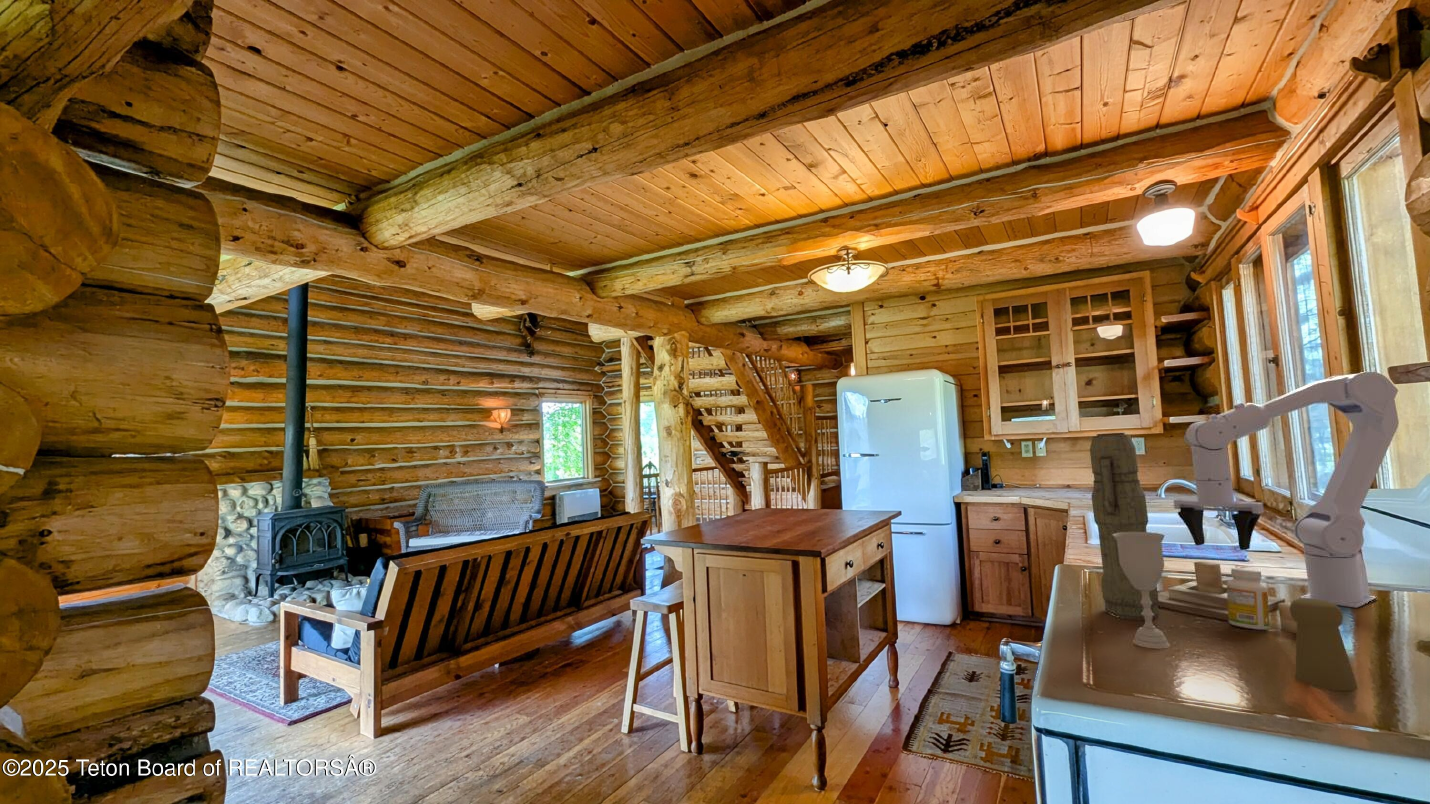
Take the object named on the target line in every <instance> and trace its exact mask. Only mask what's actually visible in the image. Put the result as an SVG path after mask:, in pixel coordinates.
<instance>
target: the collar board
mask: <svg viewBox="0 0 1430 804" xmlns="http://www.w3.org/2000/svg"><path fill="white" fill-rule="evenodd" d="M1223 591H1224V594H1221V595H1219V594H1213V593H1207V592H1201V591H1198V590H1197V582H1196V580H1192V581H1190V582H1186V583H1182V584H1180V585H1179V584H1178V585H1175V586H1173V587H1169V588H1167V590H1164V591H1161V592H1158V600H1159V602H1158V606H1161V607H1160V608H1162V607H1165V608H1164V609H1167V608H1169V609H1168V610H1174V611H1178V612H1183V613H1188V614H1194V615H1198V616H1205V617H1209V618H1214V619H1220V620H1223V621H1229V619H1228V599H1227V584H1223ZM1279 603H1286V598H1281V597H1275V596H1269V595H1268V609H1269V612H1271V611H1274V610H1277V609H1279V607H1278V604H1279Z"/></svg>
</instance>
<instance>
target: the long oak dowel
mask: <svg viewBox="0 0 1430 804" xmlns="http://www.w3.org/2000/svg"><path fill="white" fill-rule="evenodd" d="M1193 565H1194V567H1193V568H1194V574H1195V581H1196V582H1197V590H1198V591H1201V592H1207V593H1213V594H1219V595H1221V594H1224V591H1223V585H1224V584H1223V577H1222V576H1223V575H1222V568H1221V563H1219V562H1215V561H1194V562H1193Z"/></svg>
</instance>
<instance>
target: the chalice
mask: <svg viewBox="0 0 1430 804" xmlns="http://www.w3.org/2000/svg"><path fill="white" fill-rule="evenodd" d="M1113 536H1114V538H1115V539H1116V541H1117V545H1118V553H1119V562H1120V565H1121V567H1122V569H1123V571H1124V573H1125V575H1126V576H1127V578H1128V579H1129V581H1130V582H1131V584H1132V585H1133V587H1134V588H1136V589H1138V590H1141V593H1142V600H1141V602H1140V603H1141V604H1142V605H1143V607H1144V609H1143V612H1142V613H1141V614H1142V615H1143V616H1144V618H1145V620H1144V624H1143V625H1142V626H1141V627H1139V628H1138V629H1137V630H1136V633H1135V634H1134V638H1133V640H1132V643H1133V644H1134V645H1136V646H1140V647H1143V648H1146V649H1147V648H1148V649H1159V650H1160V649H1167V648H1169V647H1171V644H1170V643H1169V641H1167V638H1166V636H1165V635H1164V633H1163V631H1162V630H1160V629H1159V628H1156V626H1155V625H1154V623H1153V619H1152V616H1153V615H1154V614H1153V613H1152V611H1151V609H1150V607H1151V604H1152V602H1151V601H1150V598H1149V591H1151V590H1154V589H1155V588H1156V586H1157V587H1158V584H1159V581H1160V580H1161V578H1162V575H1163V572H1164V568H1165V560H1164V553H1163V544H1162V542H1163V540H1164V538H1165V534H1163V533H1158V532H1150V531H1148V532H1120V533H1115V534H1113Z"/></svg>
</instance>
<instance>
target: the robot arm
mask: <svg viewBox="0 0 1430 804" xmlns="http://www.w3.org/2000/svg"><path fill="white" fill-rule="evenodd" d="M1398 392H1399V389H1398V388H1397V387H1396V386H1395V385H1394V384H1393V383H1392V382H1391V380H1389V378H1388V377H1387V376H1386V375H1384V374H1382V373H1379V372H1376V371H1363V372H1359V373H1352V374H1344V375H1343V374H1341V375H1340V374H1339V375H1332V376H1330V377H1327V378H1326V379H1320V380H1316V381H1314V382H1310V383H1307V384H1305V385H1304V386H1301V387H1298V388H1296V389H1294V390H1291V391H1290V392H1287V393H1284V394H1283V395H1280V396H1277V397H1275V398H1273V399H1271V400H1269V401H1266V402H1264V403H1262V404H1256V403H1253V402H1247V403H1244V402H1238V403H1236V404H1234V405H1233V408H1232V409H1230V410H1227V411H1225V412H1224V411H1223V412H1222V413H1220V414H1219V413H1218V414H1216V413H1215V414H1214V413H1213V414H1211V415H1209V416H1208V420H1207V421H1206V420H1204V421H1203V420H1201V421H1196V422H1193V423H1192V424H1190V425H1188V426H1189V427H1187V429H1186V431H1185V435H1184V436H1183V438H1184V441H1185V442H1186V444H1187V445H1188V446H1190V447H1191V455H1192V456H1191V457H1192V465H1193V475H1194V480H1195V481H1194V483H1195V488H1196V497H1197V499H1195V498H1193V499H1192V498H1186V499H1185V498H1177V499H1173V508H1174V510H1179V511H1177V515H1178V516H1179V518H1180V519H1181V520H1182V521H1183V523H1184V525H1186V527H1187V530H1188V531H1189V533H1190V534H1191V537H1192V540H1193V541H1194V544H1195V546H1201V545H1202V546H1203V545H1205V534H1204V526H1203V525H1204V523H1203V522H1204V521H1203V520H1204V512H1205V511H1214V512H1215V511H1218V512H1235V513H1233V514H1231V517H1232V519H1233V522H1234V525H1235V530H1236V533H1237V541H1238V546H1239V547H1238V548H1239V550H1240V551H1247V550H1250V547H1251V541H1252V535H1253V533H1254V529H1255V527H1256V526H1257V523H1258V521H1259V520H1260V518H1261V514H1264V513H1265V511H1264V510H1265V509H1264V503H1263V502H1255V501H1253V502H1252V501H1242V500H1235V497H1234V489H1233V481H1232V475H1231V468H1230V467H1231V466H1230V459H1229V455H1228V454H1229V453H1228V446H1229V445H1230V443H1231V442H1234V441H1237V440H1239V439H1242V438H1245V437H1247V436H1249V435H1252V434H1255V433H1257V432H1260V431H1262V430H1265V429H1267V428H1268V427H1269V425H1270V423H1271V420H1272V419H1275V418H1277V417H1280V416H1284V415H1285V414H1286V415H1287V414H1289V413H1292V412H1295V411H1298V410H1300V409H1304V408H1306V407H1309V406H1311V405H1314V404H1327V405H1329V406H1330V407H1332V408H1333V409H1335V410H1336V411H1338V412H1339V413H1341V414H1343V415H1344V416H1345V417H1346V418H1347V420H1348V421H1349V422H1350V424H1352V426H1353V427H1352V430H1351V432H1350V434H1349V436H1348V438H1347V440H1346V443H1345V445H1344V447H1343V450H1342V452H1341V454H1340V456H1339V458H1338V460H1337V463H1336V465H1335V468H1334V470H1333V472H1332V474H1331V476H1330V479H1329V480H1328V483H1327V485H1326V488H1325V489H1324V491H1323V494H1322V496H1321V498H1320V500H1319V501H1317V502H1316V503H1314V504H1312V506H1309V508H1308V509H1307V512H1306V513H1305V515H1303V516H1302V517H1301V518H1299V519H1298V520H1297V521H1296V522H1295V524H1294V527H1293V533H1294V536H1295V538H1296V539H1297V540H1298V541H1299V542H1300V543H1301V544H1302V545H1303V552H1304V553H1303V554H1304V563H1305V569H1306V570H1305V571H1306V576H1307V583H1308V591H1309V592H1308V593H1306V594H1304V595H1301V596H1300V597H1299V599H1306V598H1310V599H1320V600H1325V601H1329V602H1332V603H1334V604H1335V605H1337V606H1341V607H1350V608H1354V609H1355V608H1359V607H1361V606H1364V605H1366V604H1368V602H1369V601H1371V600H1372V599H1374V598H1376V597H1377V596H1376V595H1371V593H1370V588H1369V583H1368V582H1369V581H1368V580H1369V579H1368V575H1367V567H1366V565H1365V562H1364V561H1363V559H1361V557H1359V556H1358V552H1359V551H1360V550H1361V549H1362V548H1363V546H1364V541H1365V540H1364V533H1363V532H1364V527H1365V525H1366V521H1365V519H1364V517H1363V515H1362V513H1361V508H1362V507H1363V504H1364V502H1365V500H1366V498H1367V495H1368V493H1369V490H1370V489H1371V487H1372V485H1373V483H1374V480H1375V478H1376V475H1377V473H1378V471H1379V469H1380V468H1381V464H1382V462H1383V461H1384V457H1386V454H1387V452H1388V450H1389V447H1390V445H1391V443H1392V441H1393V438H1394V436H1395V434H1396V432H1397V430H1398V429H1399V428H1398V427H1399V422H1400V421H1399V417H1398V412H1397V405H1396V400H1395V399H1396V397H1397V394H1398ZM1375 596H1376V597H1375ZM1371 602H1372V601H1371ZM1365 603H1366V604H1365ZM1369 603H1370V602H1369Z"/></svg>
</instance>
